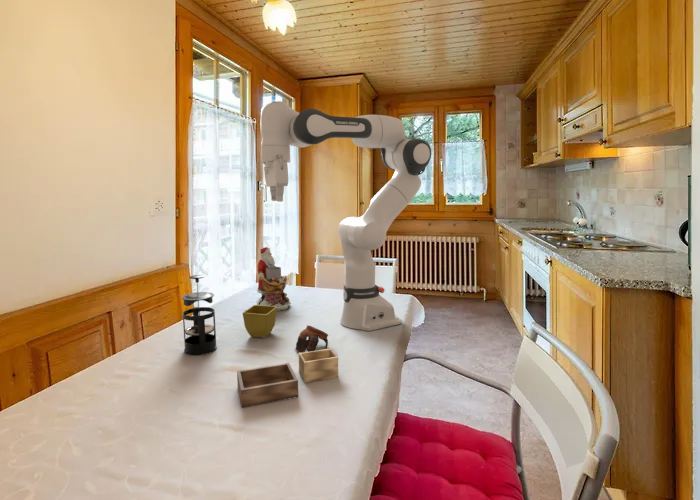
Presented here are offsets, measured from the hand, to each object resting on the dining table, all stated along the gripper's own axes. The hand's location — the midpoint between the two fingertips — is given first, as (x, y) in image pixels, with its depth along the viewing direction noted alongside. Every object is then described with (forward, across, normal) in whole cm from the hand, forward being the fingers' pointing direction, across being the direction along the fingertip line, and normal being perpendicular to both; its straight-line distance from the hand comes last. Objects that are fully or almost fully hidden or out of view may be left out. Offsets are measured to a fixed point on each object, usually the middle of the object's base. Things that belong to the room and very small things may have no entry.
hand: (276, 201), depth 121 cm
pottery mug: (+45, -14, -7) cm, 48 cm away
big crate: (+45, -35, +10) cm, 57 cm away
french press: (+45, -2, +25) cm, 51 cm away
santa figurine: (+45, +35, -4) cm, 57 cm away
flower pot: (+45, +3, +6) cm, 46 cm away
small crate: (+45, -31, -4) cm, 55 cm away
